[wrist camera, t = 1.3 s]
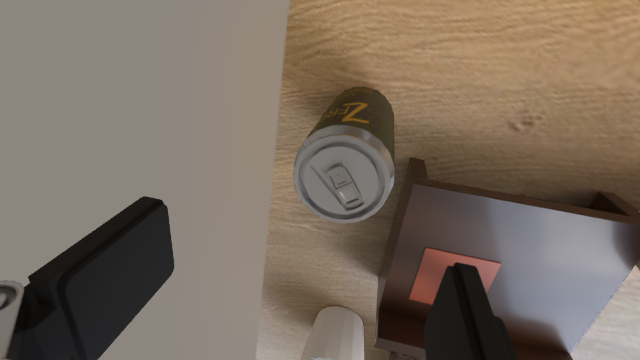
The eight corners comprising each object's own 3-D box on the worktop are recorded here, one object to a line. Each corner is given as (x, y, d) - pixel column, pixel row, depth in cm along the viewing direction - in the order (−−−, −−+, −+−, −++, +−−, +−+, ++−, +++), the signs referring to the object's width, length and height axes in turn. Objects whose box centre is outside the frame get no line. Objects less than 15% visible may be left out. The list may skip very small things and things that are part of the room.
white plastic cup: (381, 326, 37) (379, 387, 31) (344, 351, 40) (335, 412, 34) (334, 292, 36) (322, 348, 30) (300, 321, 39) (282, 377, 33)
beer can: (405, 132, 27) (413, 206, 16) (347, 158, 29) (321, 239, 18) (376, 72, 25) (363, 110, 14) (317, 104, 27) (269, 159, 16)
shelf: (409, 157, 27) (416, 204, 20) (615, 193, 25) (700, 259, 18) (378, 279, 34) (374, 346, 27) (539, 315, 32) (581, 399, 25)
